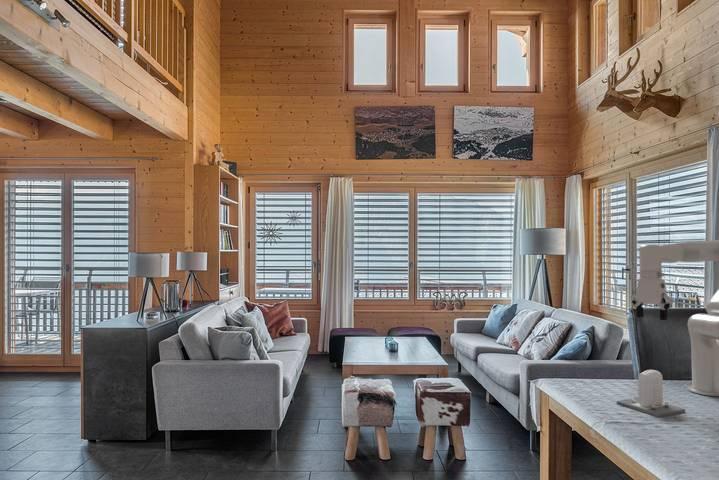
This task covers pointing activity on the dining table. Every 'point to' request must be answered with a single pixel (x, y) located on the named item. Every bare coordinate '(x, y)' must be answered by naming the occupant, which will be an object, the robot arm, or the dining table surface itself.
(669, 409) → the tray
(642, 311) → the robot arm
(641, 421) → the dining table surface
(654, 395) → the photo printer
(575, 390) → the dining table surface
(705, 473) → the dining table surface
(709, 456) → the dining table surface
